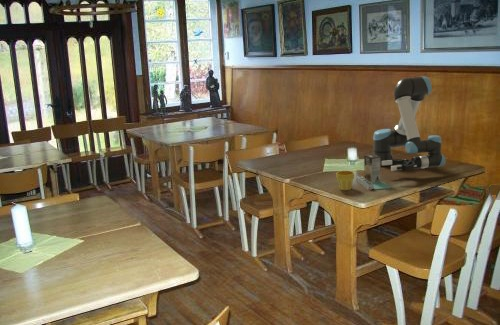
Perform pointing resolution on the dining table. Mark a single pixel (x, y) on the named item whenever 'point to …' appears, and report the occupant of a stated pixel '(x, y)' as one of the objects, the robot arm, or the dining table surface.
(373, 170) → the coffee box
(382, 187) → the pad
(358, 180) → the steel rail
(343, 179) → the plant pot
